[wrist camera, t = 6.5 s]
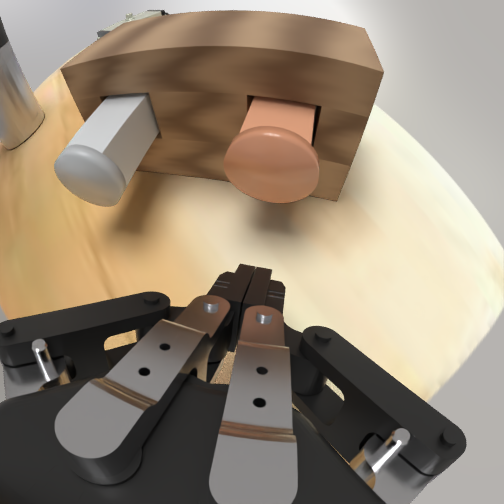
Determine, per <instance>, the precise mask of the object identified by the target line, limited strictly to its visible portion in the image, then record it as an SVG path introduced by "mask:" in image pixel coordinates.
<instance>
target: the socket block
mask: <svg viewBox="0 0 504 504" xmlns="http://www.w3.org/2000/svg"><path fill="white" fill-rule="evenodd" d="M61 72H62V74H63V76H64V79H65V81H66V83H67V85H68V88H69V90H70V92H71V94H72V96H73V99H74V101H75V103H76V105H77V107H78V109H79V111H80V113H81V115H82V117H83V119H84V121H85V122H86V121H87V119H88V118H89V117H90V116H91V115H92V114H93V112H94V111H95V110H96V109H97V108H98V107H99V106H100V104H101V103H102V102H103V101H104V100H105V99H106V98H107V97H108V96H109V95H119V94H131V93H147V92H149V96H150V99H151V103H152V106H153V109H154V113H155V116H156V119H157V123H158V126H159V129H160V132H159V133H158V135H157V136H156V138H155V139H154V141H153V142H152V144H151V146H150V147H149V149H148V151H147V152H146V154H145V155H144V157H143V159H142V160H141V162H140V164H139V166H138V167H137V169H136V170H137V171H148V172H158V173H168V174H177V175H185V176H193V177H201V178H209V179H216V180H223V181H230V180H229V179H228V177H227V176H226V174H225V171H224V164H223V162H224V158H225V155H226V153H227V150H228V148H229V145H230V143H231V141H232V140H233V139H234V138H235V136H237V135H238V134H239V133H240V130H241V128H242V125H243V123H244V120H245V118H246V116H247V113H248V111H249V108H250V106H251V104H252V101H253V99H254V97H255V96H262V97H270V98H277V99H284V100H291V101H297V102H303V103H308V104H313V105H315V112H314V122H313V131H312V141H311V145H312V146H313V148H314V149H315V151H316V152H317V155H318V157H319V162H320V169H319V179H318V184H317V186H316V188H315V190H314V191H313V192H312V193H311V194H310V195H309V196H314V197H319V198H324V199H328V200H333V201H337V199H338V197H339V194H340V192H341V189H342V187H343V184H344V182H345V179H346V177H347V174H348V172H349V169H350V167H351V164H352V162H353V159H354V156H355V154H356V151H357V149H358V146H359V143H360V141H361V138H362V135H363V132H364V130H365V127H366V124H367V121H368V119H369V116H370V113H371V110H372V107H373V104H374V101H375V98H376V95H377V92H378V89H379V86H380V83H381V80H382V77H383V74H384V71H383V69H382V66H381V64H380V61H379V59H378V56H377V54H376V52H375V49H374V48H373V45H372V43H371V41H370V39H369V37H368V34H367V33H366V30H365V29H364V28H361V27H357V26H354V25H349V24H345V23H341V22H336V21H332V20H327V19H321V18H316V17H310V16H303V15H296V14H287V13H276V12H265V11H237V10H234V11H233V10H230V11H202V12H188V13H180V14H171V15H163V16H156V17H150V18H145V19H139V20H135V21H130V22H125V23H123V24H121V25H120V26H118V27H116V28H115V29H113V30H112V31H110V32H109V33H107V34H106V35H104V36H103V37H101V38H100V39H98V40H97V41H95V42H94V43H93V44H91V45H90V46H88V47H87V48H86V49H84V50H83V51H82V52H80V53H79V54H78V55H77V56H75V57H74V58H73V59H72V60H70V61H69V62H68V63H67V64H65V65H64V66H63V67H62V68H61Z"/></svg>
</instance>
